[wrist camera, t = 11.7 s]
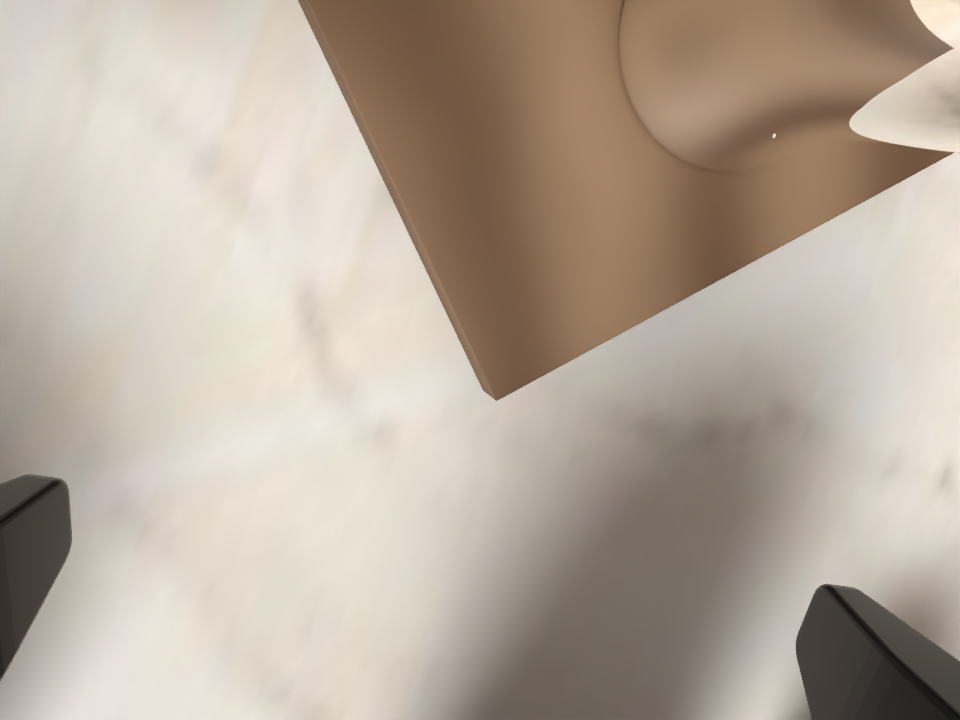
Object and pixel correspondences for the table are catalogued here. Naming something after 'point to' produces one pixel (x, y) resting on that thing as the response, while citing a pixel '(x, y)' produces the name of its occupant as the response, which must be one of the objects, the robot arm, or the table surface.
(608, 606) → the table surface
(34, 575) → the robot arm
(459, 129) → the walnut board
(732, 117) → the silver metal tumbler
